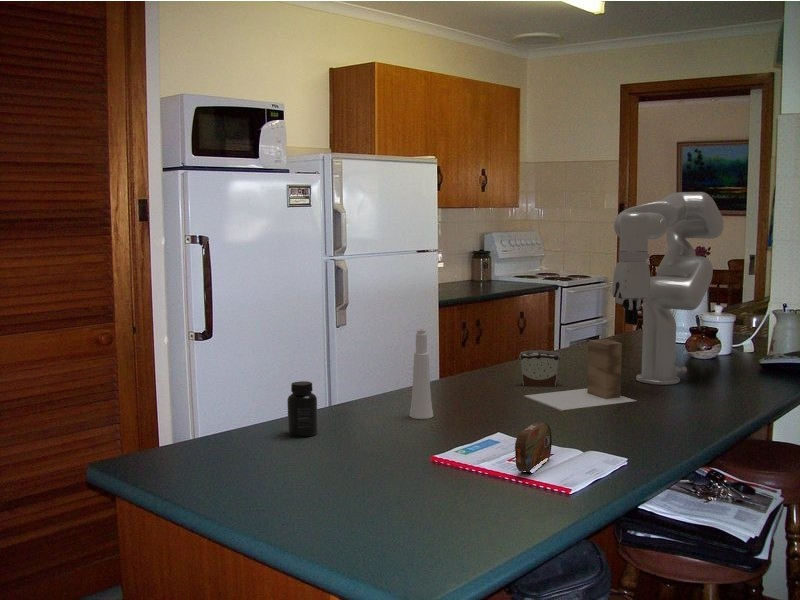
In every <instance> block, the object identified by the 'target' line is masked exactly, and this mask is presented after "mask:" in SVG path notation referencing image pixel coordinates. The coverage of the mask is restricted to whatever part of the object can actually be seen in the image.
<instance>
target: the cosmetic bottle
mask: <svg viewBox="0 0 800 600" xmlns="http://www.w3.org/2000/svg"><path fill="white" fill-rule="evenodd" d="M426 331H427V329H424V328H419V329H417V330H416V333H415V352H414V353H413V367H412V370H413V372H412V392H411V404H410V411H409V414H408V415H409V417H410V418H411V419H414V420H415V419H416V420H428V419H431V418H433V417H434V412H433V404H432V394H431V378H430V377H431V376H430V371H431V370H430V358H429V357H430V356H429V355H430V354H429V352H428V339H427V338H428V334H427V333H426Z"/></svg>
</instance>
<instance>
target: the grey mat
mask: <svg viewBox="0 0 800 600" xmlns="http://www.w3.org/2000/svg"><path fill="white" fill-rule="evenodd" d="M524 398H525V399H526V398H527V399H529V400H531V401H534V402H537V403H539V404H542V405H545V406H547V407H549V408H553V409H555V410H558V411H561V412H565V410H566V411H568V410H575V409H576V410H577V409H581V408H591V407H599V406H607V405H616V404H624V403H631V402H637V400H636V399H632V398H629V397H628V396H627V397H626V396H622V395H620V398H612V399H603V398H600V397H597V396H594V395H591V394H588V393H587V388H580V389H579V388H578V389H572V390H563V391H562V390H560V391H553V392H544V393H542V392H541V393H536V394H527V395H524Z"/></svg>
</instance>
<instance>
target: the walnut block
mask: <svg viewBox="0 0 800 600" xmlns="http://www.w3.org/2000/svg"><path fill="white" fill-rule="evenodd" d="M622 348H623V343H622V342H618V341H613V340H609V339H604V338H601V339H589V340H588V349H587V352H588V353H587V356H588V357H587V386H586V387H587V388H586V389H587V393H588V394H591V395H594V396H597V397H600V398H603V399H612V398H620V396H621V391H622V390H621V385H622V384H621V382H622V354H623V353H622V352H623V351H622Z"/></svg>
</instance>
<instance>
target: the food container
mask: <svg viewBox="0 0 800 600" xmlns="http://www.w3.org/2000/svg"><path fill="white" fill-rule="evenodd" d="M560 354H561V353H559V352H555V351H551V350H525V351H522V352H520V354H519V356H518V361H520V368H521V377H522V379H521V380H522V386H523V387H556V386H557V379H558V371H559V363H560V362H562V357H561V355H560Z"/></svg>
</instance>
